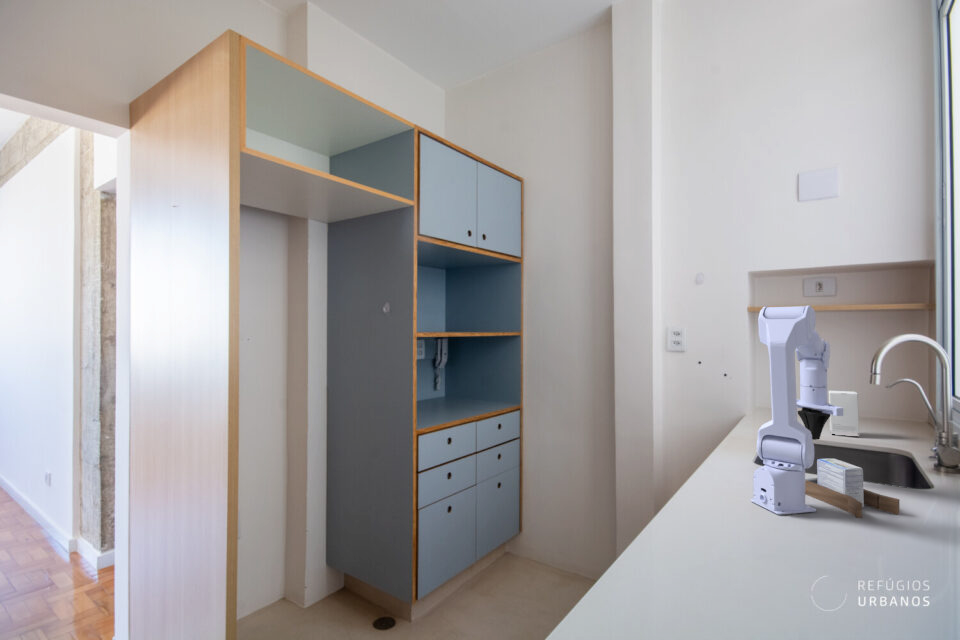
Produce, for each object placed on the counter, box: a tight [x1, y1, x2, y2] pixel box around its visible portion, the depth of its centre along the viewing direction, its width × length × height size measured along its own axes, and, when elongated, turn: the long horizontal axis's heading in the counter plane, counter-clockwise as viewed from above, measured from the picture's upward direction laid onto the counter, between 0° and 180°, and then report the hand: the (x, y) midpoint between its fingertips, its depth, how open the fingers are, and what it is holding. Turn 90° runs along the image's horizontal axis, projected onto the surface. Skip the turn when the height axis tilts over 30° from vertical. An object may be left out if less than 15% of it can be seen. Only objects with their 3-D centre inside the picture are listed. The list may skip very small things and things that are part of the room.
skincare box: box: [828, 390, 860, 434], centre depth 168 cm, size 8×7×16 cm
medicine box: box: [816, 458, 865, 508], centre depth 105 cm, size 8×4×9 cm, turn 4°
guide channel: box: [805, 477, 901, 519], centre depth 105 cm, size 11×15×3 cm
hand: (814, 438), depth 120 cm, fingers closed
